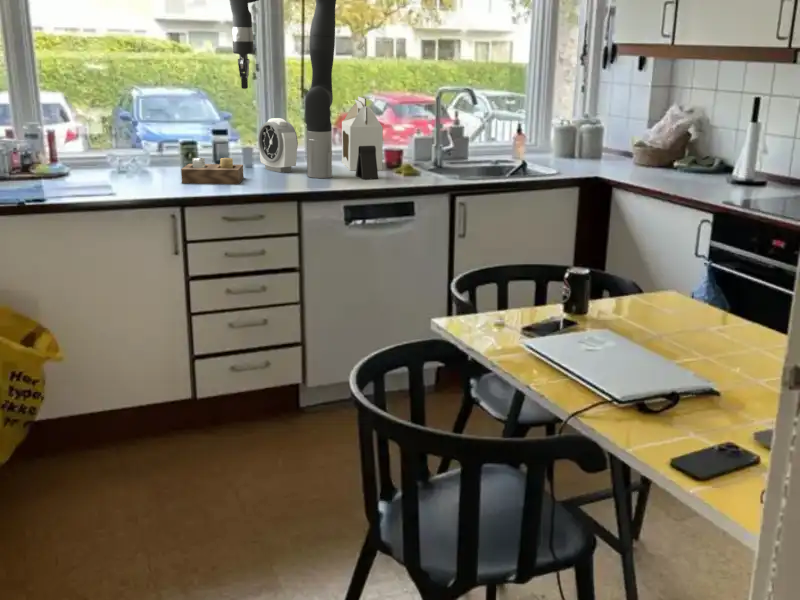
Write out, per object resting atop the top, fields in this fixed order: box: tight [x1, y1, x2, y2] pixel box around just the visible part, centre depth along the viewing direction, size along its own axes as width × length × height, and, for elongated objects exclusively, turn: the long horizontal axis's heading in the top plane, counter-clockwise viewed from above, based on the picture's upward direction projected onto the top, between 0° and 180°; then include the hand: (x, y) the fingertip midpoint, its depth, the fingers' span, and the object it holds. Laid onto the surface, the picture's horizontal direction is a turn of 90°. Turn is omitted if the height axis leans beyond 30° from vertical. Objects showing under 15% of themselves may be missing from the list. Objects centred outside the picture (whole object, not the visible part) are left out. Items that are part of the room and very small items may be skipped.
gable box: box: [341, 96, 384, 172], centre depth 350 cm, size 22×13×28 cm, turn 12°
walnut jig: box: [180, 157, 245, 185], centre depth 311 cm, size 20×14×8 cm
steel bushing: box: [191, 157, 206, 168], centre depth 311 cm, size 4×4×8 cm
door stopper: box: [355, 146, 379, 181], centre depth 325 cm, size 9×6×12 cm, turn 22°
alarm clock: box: [257, 117, 299, 173], centre depth 337 cm, size 18×8×20 cm, turn 42°
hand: (244, 88), depth 321 cm, fingers closed
